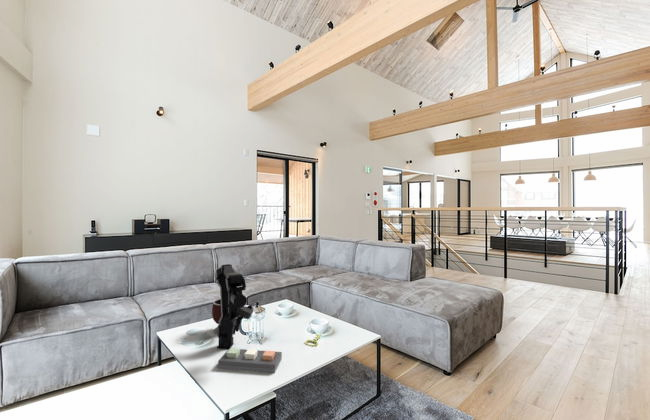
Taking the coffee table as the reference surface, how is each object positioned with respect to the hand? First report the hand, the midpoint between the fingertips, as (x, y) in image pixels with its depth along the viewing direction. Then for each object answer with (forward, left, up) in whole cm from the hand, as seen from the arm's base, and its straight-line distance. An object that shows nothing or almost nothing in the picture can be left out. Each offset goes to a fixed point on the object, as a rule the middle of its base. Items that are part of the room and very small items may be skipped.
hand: (234, 334), depth 144 cm
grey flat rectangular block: (+8, 0, -13) cm, 15 cm away
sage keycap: (0, 0, -10) cm, 10 cm away
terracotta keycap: (+17, 0, -10) cm, 20 cm away
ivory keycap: (+8, 0, -10) cm, 13 cm away
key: (+34, +27, -14) cm, 46 cm away
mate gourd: (-20, +35, -13) cm, 42 cm away
